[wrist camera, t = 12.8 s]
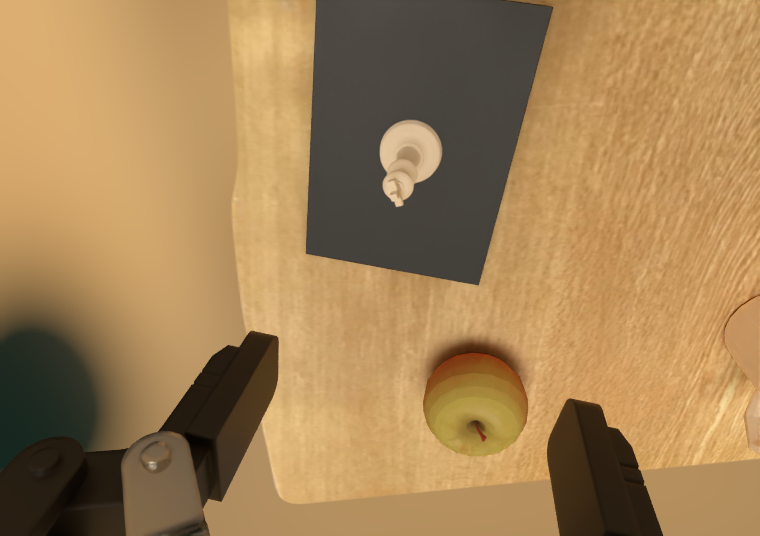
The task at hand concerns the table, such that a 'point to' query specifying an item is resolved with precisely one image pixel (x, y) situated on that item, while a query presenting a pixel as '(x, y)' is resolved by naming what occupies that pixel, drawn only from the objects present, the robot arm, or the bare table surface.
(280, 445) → the table surface
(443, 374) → the apple
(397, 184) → the chess piece
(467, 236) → the mat
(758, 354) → the mug
